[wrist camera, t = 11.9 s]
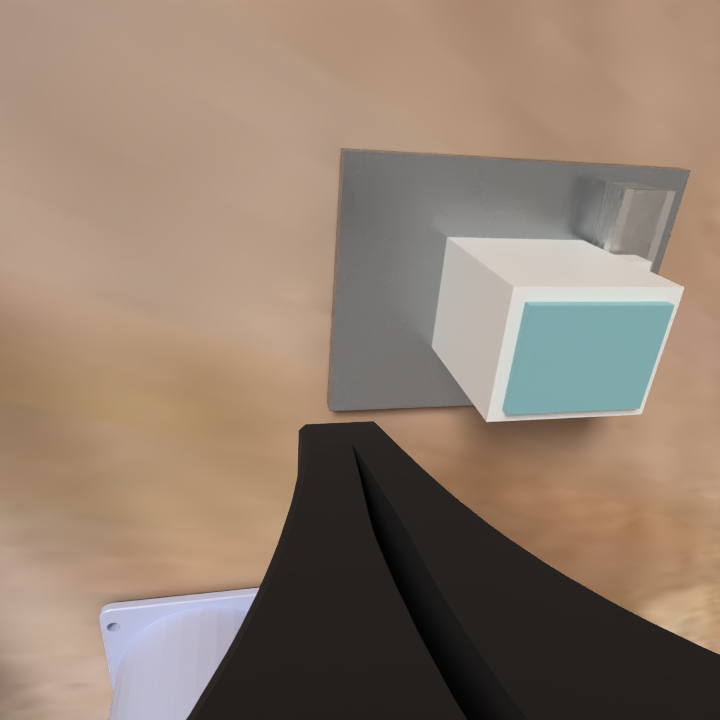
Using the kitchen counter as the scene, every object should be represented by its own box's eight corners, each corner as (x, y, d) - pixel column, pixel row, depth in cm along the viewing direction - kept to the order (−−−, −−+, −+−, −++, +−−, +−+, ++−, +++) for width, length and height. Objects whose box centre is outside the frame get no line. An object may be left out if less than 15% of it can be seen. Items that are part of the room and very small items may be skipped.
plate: (609, 391, 24) (618, 399, 23) (327, 402, 21) (329, 411, 20) (678, 167, 20) (690, 170, 19) (341, 148, 17) (344, 150, 17)
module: (576, 344, 21) (671, 418, 17) (431, 347, 20) (490, 427, 16) (603, 240, 20) (717, 291, 15) (447, 237, 18) (518, 290, 14)
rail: (586, 389, 22) (608, 408, 21) (545, 391, 22) (565, 411, 21) (645, 183, 19) (676, 191, 18) (598, 181, 19) (625, 188, 17)
